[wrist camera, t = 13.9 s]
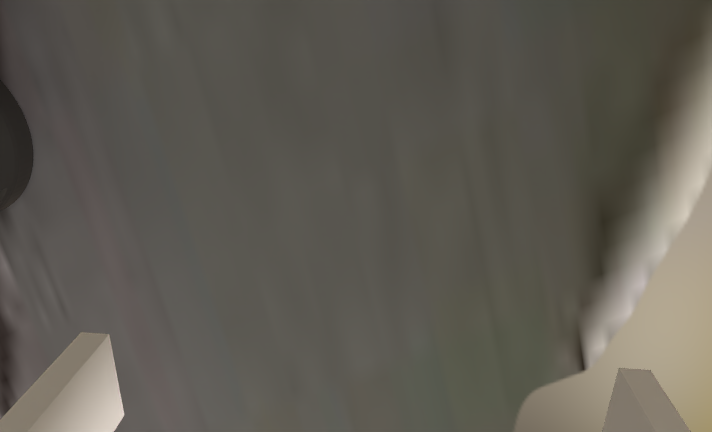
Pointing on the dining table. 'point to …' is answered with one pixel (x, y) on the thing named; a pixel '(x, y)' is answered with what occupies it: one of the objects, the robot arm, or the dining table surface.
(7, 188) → the robot arm
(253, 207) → the dining table surface
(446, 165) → the dining table surface
